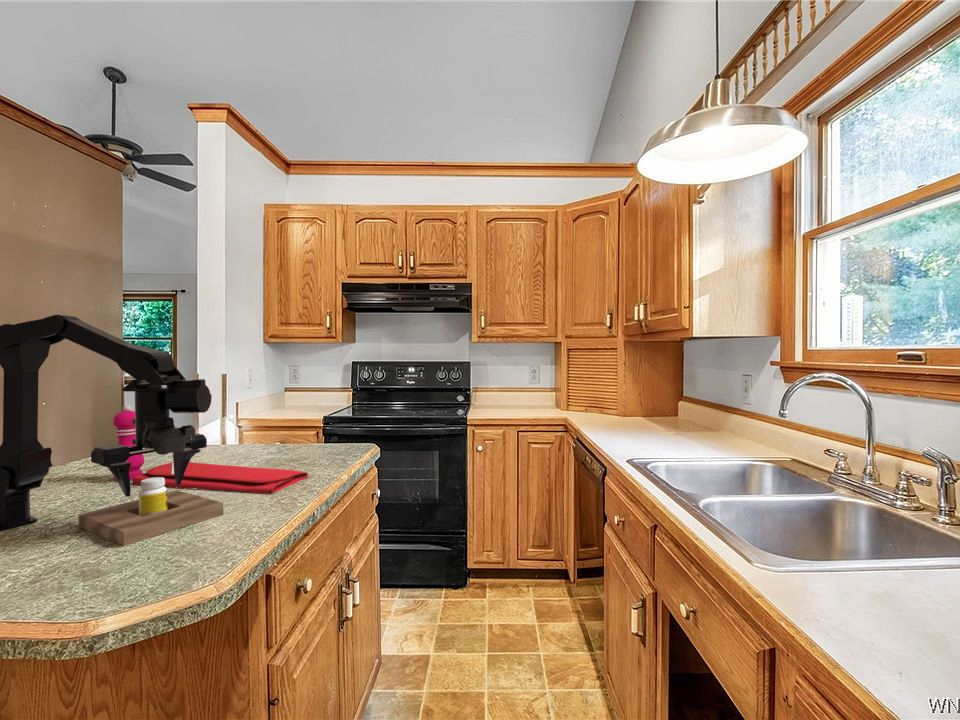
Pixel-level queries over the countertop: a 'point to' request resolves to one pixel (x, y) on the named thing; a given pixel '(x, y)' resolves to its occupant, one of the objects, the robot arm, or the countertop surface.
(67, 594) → the countertop surface
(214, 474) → the red folded cloth
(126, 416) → the pepper mill
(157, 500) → the supplement bottle
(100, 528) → the socket board
